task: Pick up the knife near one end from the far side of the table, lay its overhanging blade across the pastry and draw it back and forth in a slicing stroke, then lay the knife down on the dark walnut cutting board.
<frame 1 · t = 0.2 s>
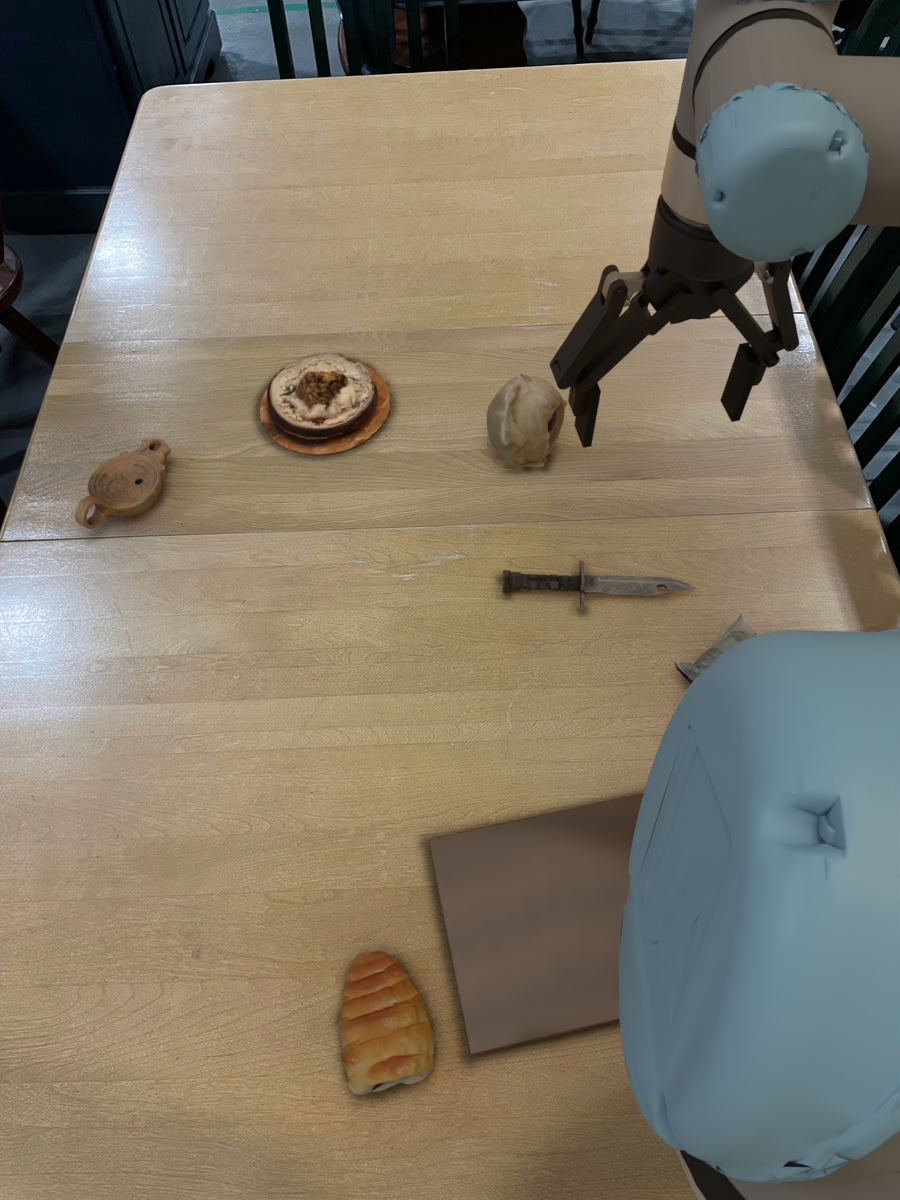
hand: (656, 423, 75), 15 cm above the table, tool pointing down, fingers open, 13 cm apart
oil lamp: (133, 499, 91), on the table
cutting board: (595, 909, 67), on the table
knife: (596, 591, 84), on the table
beige rounded shell: (526, 446, 94), on the table
packaged food: (747, 697, 77), on the table
pastry: (383, 1030, 63), on the table
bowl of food: (325, 407, 98), on the table
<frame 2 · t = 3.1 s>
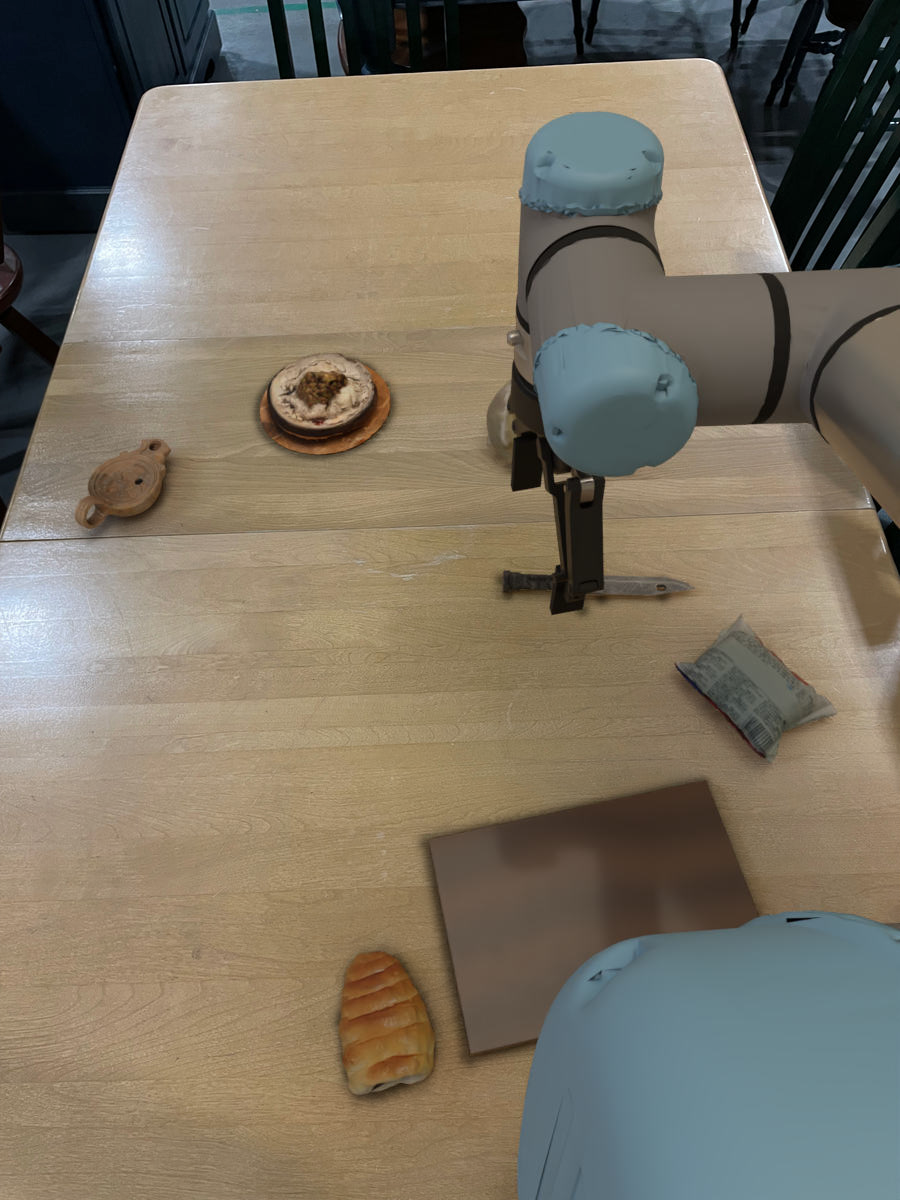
hand: (544, 545, 75), 9 cm above the table, tool pointing down, fingers open, 13 cm apart
nothing on the table moved.
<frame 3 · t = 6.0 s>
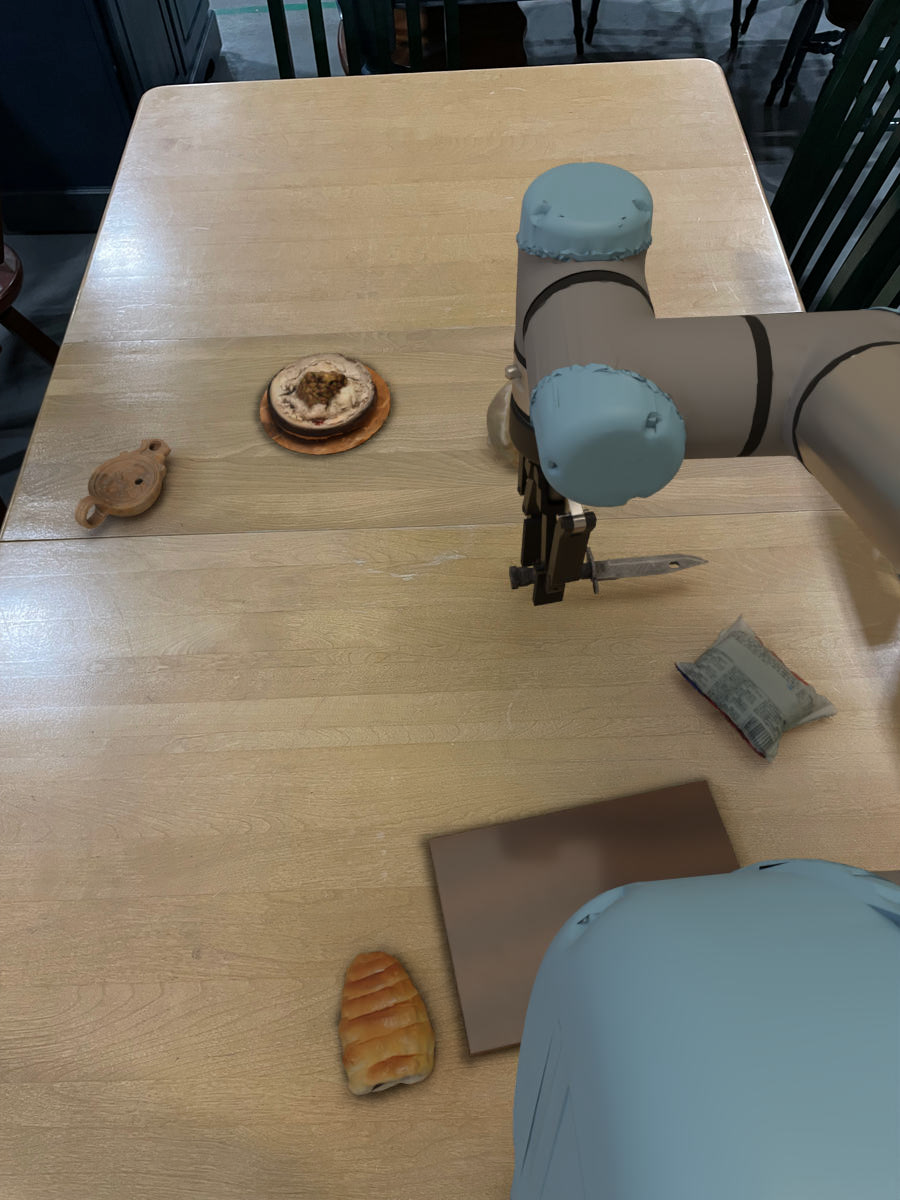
hand: (541, 580, 79), 4 cm above the table, tool pointing down, fingers closed on knife, 4 cm apart
knife: (607, 576, 80), point 4 cm above the table, touching gripper
everything else where it was.
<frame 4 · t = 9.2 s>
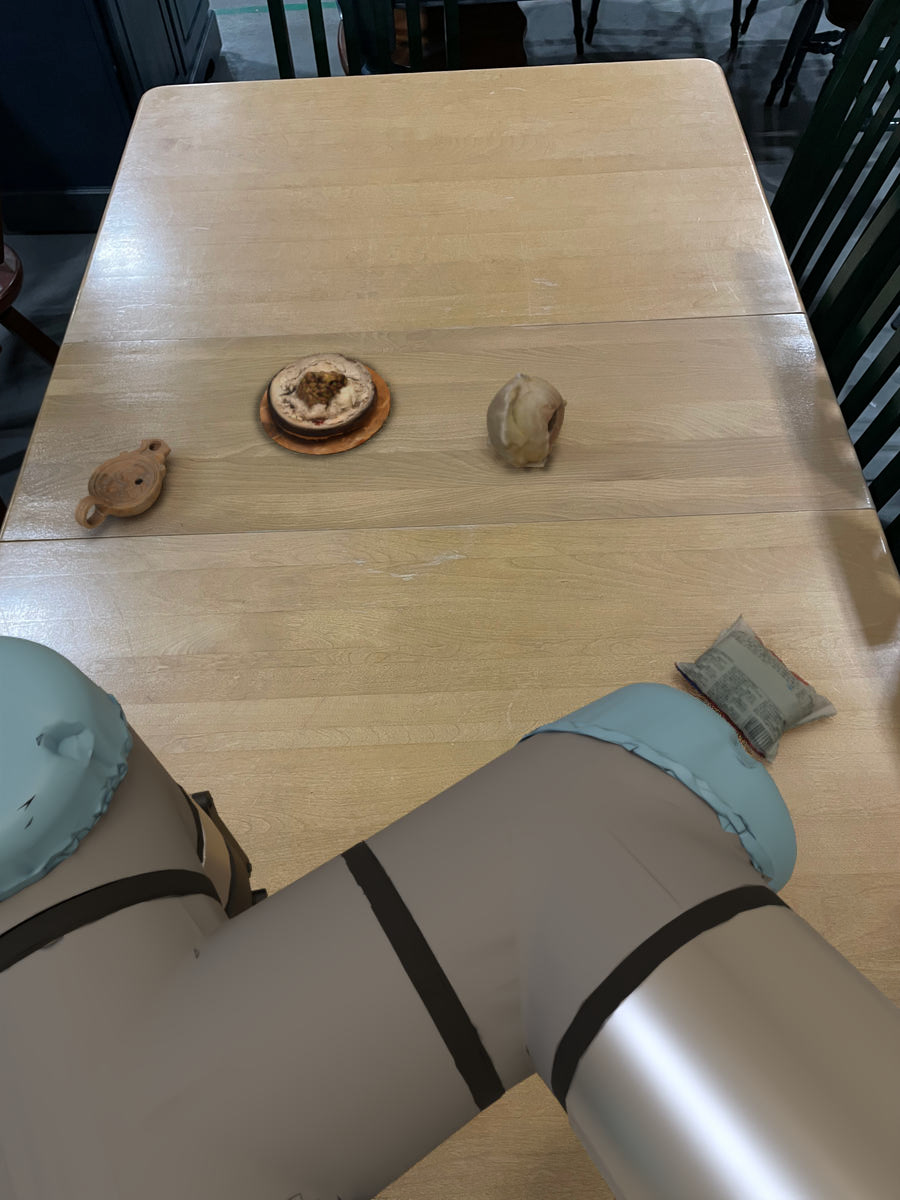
hand: (262, 981, 54), 12 cm above the table, tool pointing down, fingers closed on knife, 4 cm apart
knife: (363, 972, 54), point 12 cm above the table, touching gripper
everything else where it was.
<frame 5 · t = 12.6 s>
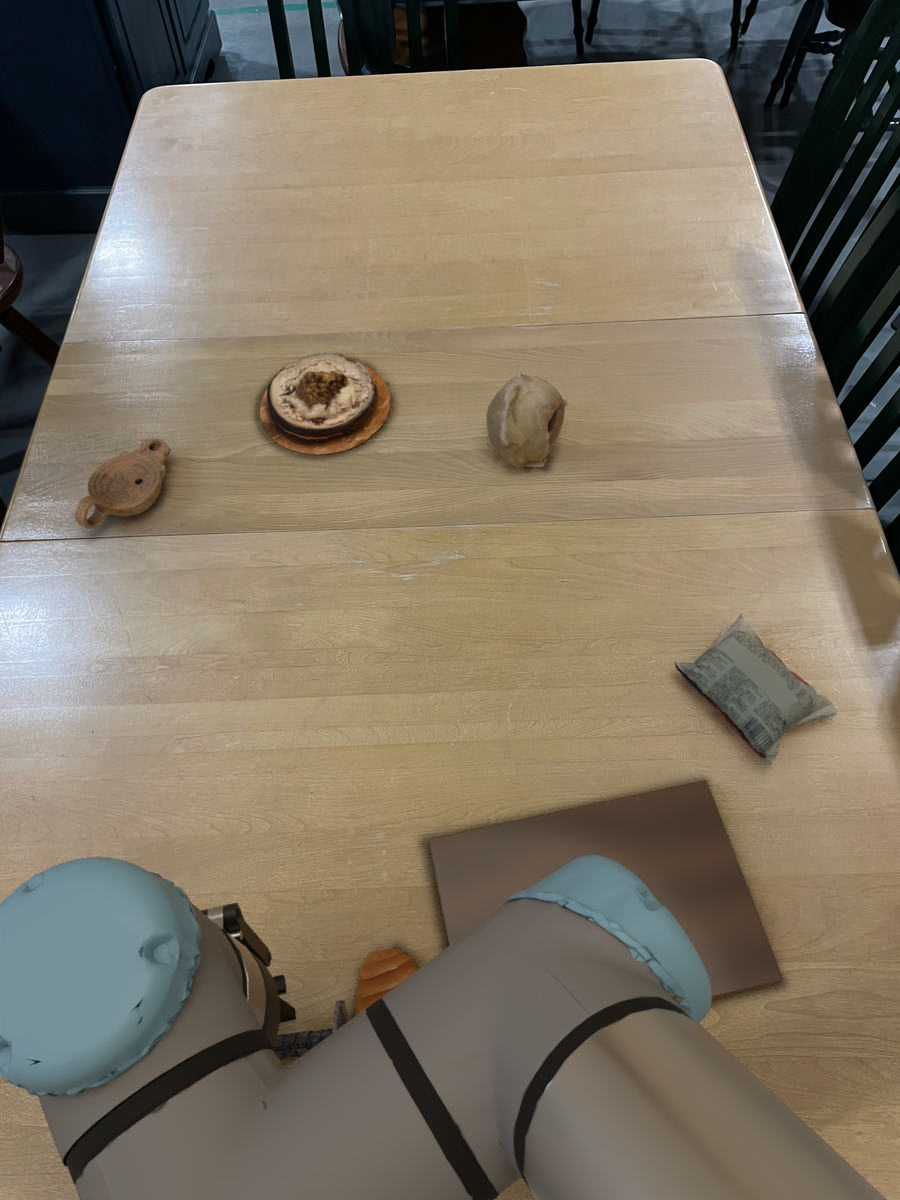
hand: (280, 1051, 61), 2 cm above the table, tool pointing down, fingers closed on knife, 4 cm apart
knife: (369, 1037, 60), point 4 cm above the table, touching gripper
pastry: (397, 1028, 63), on the table
everything else where it was.
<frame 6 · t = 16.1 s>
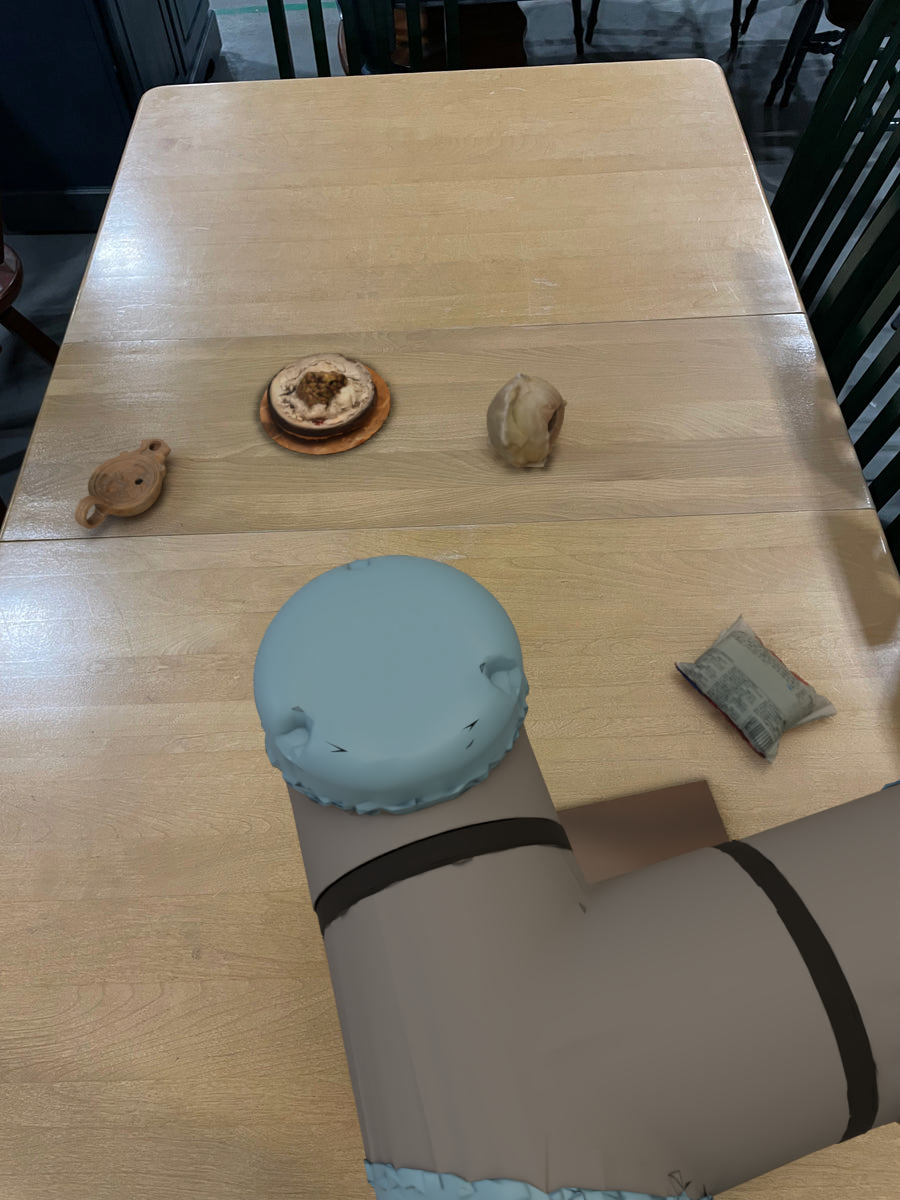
hand: (437, 938, 55), 12 cm above the table, tool pointing down, fingers closed on knife, 4 cm apart
knife: (538, 918, 54), point 14 cm above the table, touching gripper
everything else where it was.
when the fingers open (2 cm above the table, at t = 19.0 s): knife drops 2 cm, resting on cutting board.
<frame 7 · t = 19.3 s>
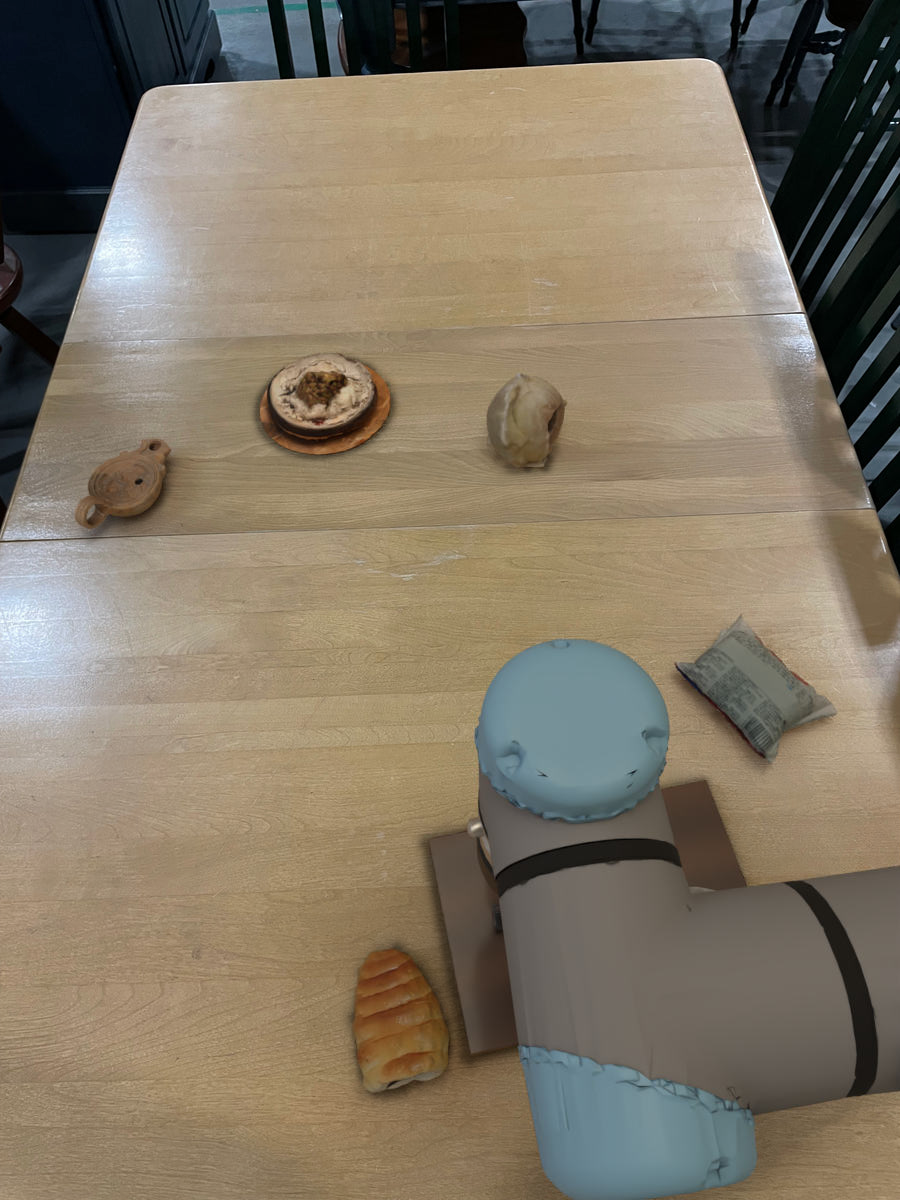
hand: (524, 919, 65), 3 cm above the table, tool pointing down, fingers open, 7 cm apart
knife: (611, 911, 66), point 1 cm above the table, touching cutting board
everything else where it was.
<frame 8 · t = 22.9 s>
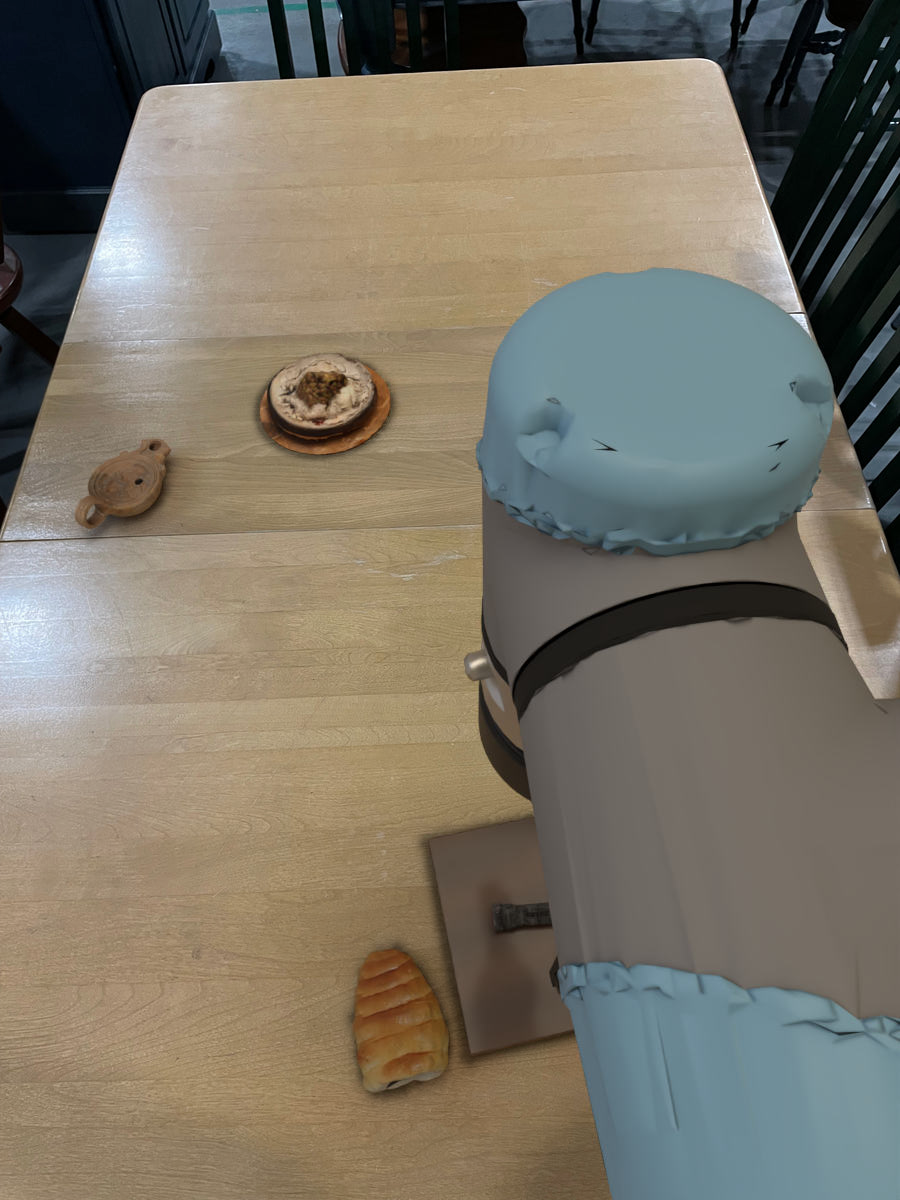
hand: (541, 848, 49), 22 cm above the table, tool pointing down, fingers open, 13 cm apart
nothing on the table moved.
at the end: knife inside the target area on the cutting board (1.2 cm from its centre), point 1.0 cm above the cutting board's base; the gripper is holding nothing; pastry moved 1.1 cm from its start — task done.
